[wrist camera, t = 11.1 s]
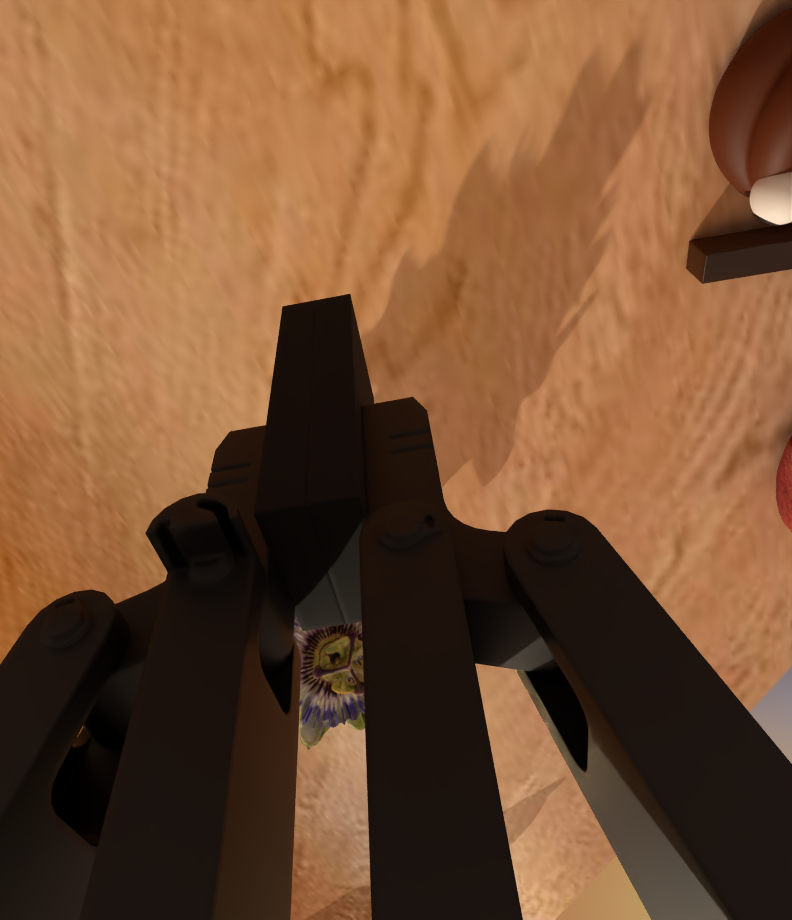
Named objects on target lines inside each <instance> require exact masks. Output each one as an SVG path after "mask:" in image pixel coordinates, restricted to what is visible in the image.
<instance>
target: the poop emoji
mask: <svg viewBox="0 0 792 920" xmlns="http://www.w3.org/2000/svg"><path fill="white" fill-rule="evenodd" d="M709 138H710V144H711V149H712V152H713V155H714V158H715V161H716V163H717V165H718V167H719V168H720V170H721V172H722V173H723V175H724V176H725V177H726V179H727V180H728V181H729V182H730V183H731V184H732V185H733V186H734V187H735V188H736V189H737V190H738V191H739V192H740V193H742V194H743V195H744V196H746V197H750V206H751V209H752V211H753V215H754V216H755V217H756V218H757V219H758V220H760V221H762V222H764V223H766V224H769V225H772V226H780V225H782V224H787V223H790V222H792V8H791V9H789V10H787V11H785V12H783V13H782V14H780V15H778V16H777V17H775V18H774V19H772V20H771V21H769V22H768V23H767V24H765V25H764V26H763V27H762V28H760V29H759V30H758V31H757V32H756V33H755V34H754V35H753V36H752V37H751V38H750V39H749V40H748V41H747V42H746V43H745V44H744V45H743V46H742V48H741V49H740V50H739V51H738V53H737V54H736V55H735V57H734V58H733V59H732V61H731V63H730V64H729V66H728V67H727V69H726V71H725V73H724V75H723V76H722V78H721V81H720V83H719V85H718V88H717V90H716V93H715V96H714V99H713V103H712V107H711V112H710V119H709Z"/></svg>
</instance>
